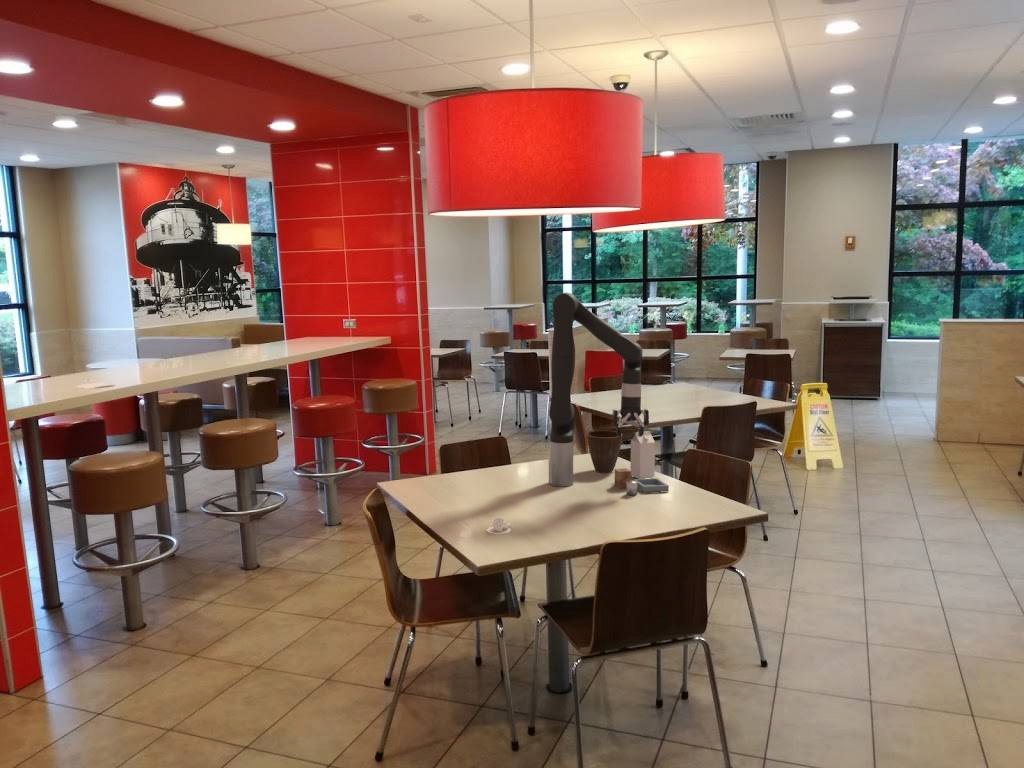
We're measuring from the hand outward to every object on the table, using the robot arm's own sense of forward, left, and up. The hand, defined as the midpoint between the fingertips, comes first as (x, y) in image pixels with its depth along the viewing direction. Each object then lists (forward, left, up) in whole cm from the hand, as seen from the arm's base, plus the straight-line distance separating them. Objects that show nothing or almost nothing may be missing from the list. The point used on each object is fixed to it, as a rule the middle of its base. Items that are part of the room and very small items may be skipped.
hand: (629, 436), depth 318 cm
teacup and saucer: (-56, -45, -21) cm, 75 cm away
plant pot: (-1, +29, -21) cm, 35 cm away
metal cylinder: (-2, -10, -20) cm, 23 cm away
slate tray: (+8, -3, -20) cm, 22 cm away
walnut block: (-2, +1, -20) cm, 21 cm away
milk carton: (+11, +15, -21) cm, 28 cm away
